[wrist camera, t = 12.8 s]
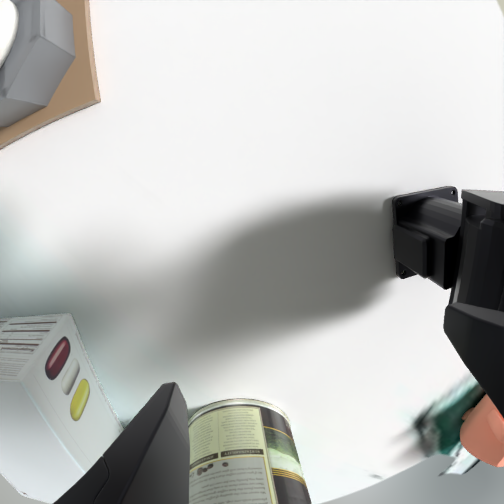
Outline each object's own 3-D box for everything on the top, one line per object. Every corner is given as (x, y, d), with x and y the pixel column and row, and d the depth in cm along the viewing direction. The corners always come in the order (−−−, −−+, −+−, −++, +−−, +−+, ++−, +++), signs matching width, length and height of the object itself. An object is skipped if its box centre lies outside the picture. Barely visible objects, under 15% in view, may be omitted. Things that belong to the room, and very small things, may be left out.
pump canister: (88, -19, 14) (58, -56, 8) (100, 101, 17) (60, 85, 11) (-20, 43, 13) (-62, 29, 8) (-14, 157, 17) (-64, 163, 11)
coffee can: (309, 407, 26) (355, 535, 13) (264, 465, 29) (285, 572, 16) (202, 385, 24) (201, 539, 11) (173, 449, 27) (167, 568, 13)
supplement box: (138, 447, 27) (126, 519, 18) (43, 439, 26) (19, 495, 17) (74, 309, 21) (19, 383, 12) (-26, 317, 21) (-79, 368, 12)
